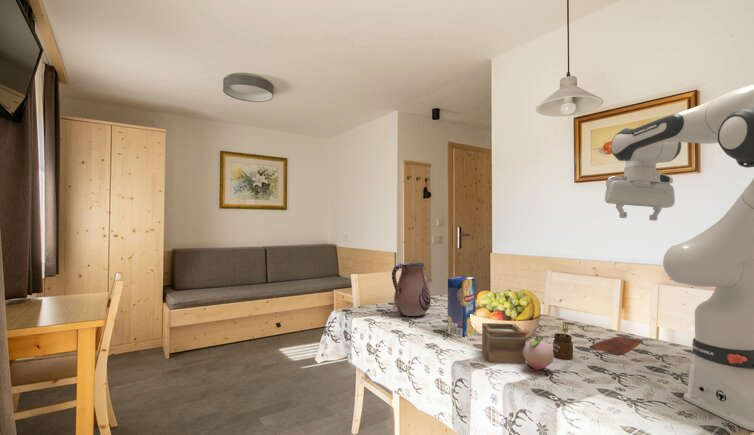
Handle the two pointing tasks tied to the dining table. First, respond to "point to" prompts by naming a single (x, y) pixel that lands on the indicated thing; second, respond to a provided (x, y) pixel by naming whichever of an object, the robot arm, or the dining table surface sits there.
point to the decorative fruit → (538, 353)
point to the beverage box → (460, 305)
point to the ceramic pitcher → (411, 289)
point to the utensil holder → (563, 344)
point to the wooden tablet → (616, 345)
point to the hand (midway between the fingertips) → (638, 219)
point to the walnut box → (503, 343)
